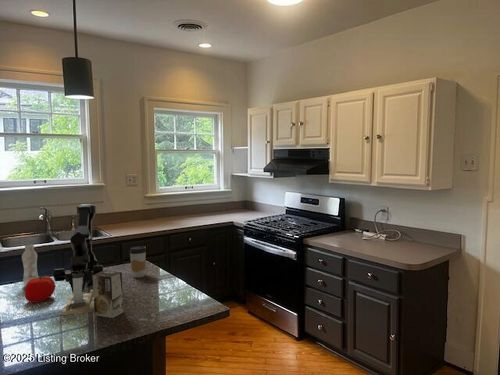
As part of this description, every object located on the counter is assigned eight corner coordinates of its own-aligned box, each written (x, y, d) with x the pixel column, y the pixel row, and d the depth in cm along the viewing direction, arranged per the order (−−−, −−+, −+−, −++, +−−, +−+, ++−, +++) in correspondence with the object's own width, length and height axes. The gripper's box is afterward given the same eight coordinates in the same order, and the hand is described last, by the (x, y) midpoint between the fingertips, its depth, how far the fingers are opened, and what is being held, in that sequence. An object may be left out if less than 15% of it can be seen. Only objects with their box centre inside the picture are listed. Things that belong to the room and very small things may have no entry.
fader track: (69, 298, 159) (69, 291, 159) (97, 295, 162) (96, 288, 162) (61, 315, 141) (61, 307, 141) (92, 311, 144) (92, 304, 144)
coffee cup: (149, 273, 194) (148, 246, 194) (143, 278, 186) (142, 249, 185) (134, 273, 195) (133, 245, 194) (127, 278, 187) (126, 249, 186)
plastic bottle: (41, 284, 178) (40, 244, 177) (27, 288, 172) (25, 247, 171) (35, 282, 181) (33, 243, 180) (20, 286, 176) (18, 245, 174)
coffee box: (124, 312, 144) (122, 271, 143) (113, 318, 137) (111, 276, 136) (105, 309, 146) (103, 269, 146) (93, 315, 140) (92, 274, 139)
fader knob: (72, 304, 148) (71, 272, 147) (86, 302, 149) (85, 271, 149) (71, 307, 144) (69, 275, 143) (85, 305, 146) (84, 274, 145)
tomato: (17, 303, 154) (16, 280, 153) (43, 293, 165) (42, 271, 165) (37, 307, 150) (35, 282, 149) (62, 296, 162) (61, 274, 161)
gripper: (52, 249, 146) (47, 285, 136) (102, 246, 152) (101, 279, 142) (57, 263, 154) (53, 298, 144) (104, 259, 160) (103, 292, 150)
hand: (77, 292), depth 145 cm, fingers closed on fader knob, 3 cm apart
